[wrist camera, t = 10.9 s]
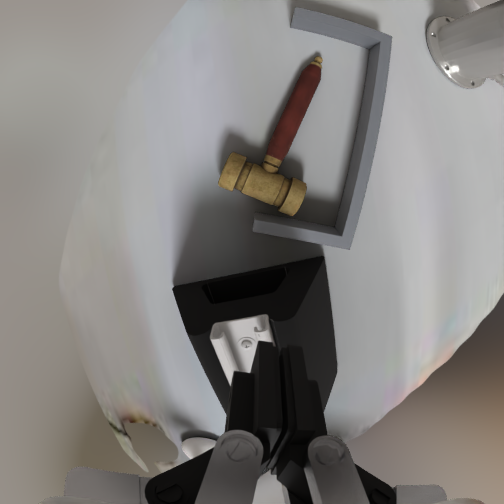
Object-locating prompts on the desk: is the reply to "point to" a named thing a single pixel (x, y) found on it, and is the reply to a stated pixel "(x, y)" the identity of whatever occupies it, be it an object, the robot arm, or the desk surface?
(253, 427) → the robot arm
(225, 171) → the gavel
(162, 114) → the desk surface
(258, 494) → the white stepped block
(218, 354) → the device stand
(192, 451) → the flower in vase
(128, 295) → the desk surface
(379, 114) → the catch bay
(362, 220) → the desk surface
